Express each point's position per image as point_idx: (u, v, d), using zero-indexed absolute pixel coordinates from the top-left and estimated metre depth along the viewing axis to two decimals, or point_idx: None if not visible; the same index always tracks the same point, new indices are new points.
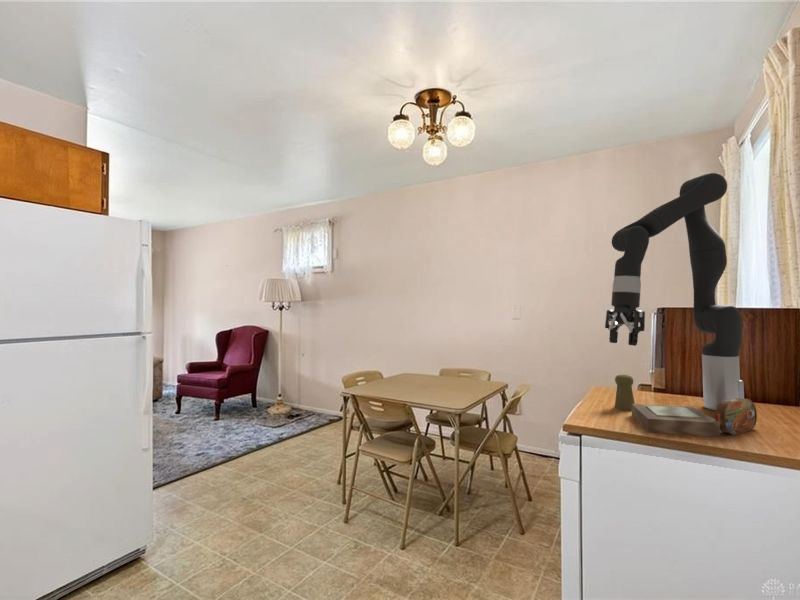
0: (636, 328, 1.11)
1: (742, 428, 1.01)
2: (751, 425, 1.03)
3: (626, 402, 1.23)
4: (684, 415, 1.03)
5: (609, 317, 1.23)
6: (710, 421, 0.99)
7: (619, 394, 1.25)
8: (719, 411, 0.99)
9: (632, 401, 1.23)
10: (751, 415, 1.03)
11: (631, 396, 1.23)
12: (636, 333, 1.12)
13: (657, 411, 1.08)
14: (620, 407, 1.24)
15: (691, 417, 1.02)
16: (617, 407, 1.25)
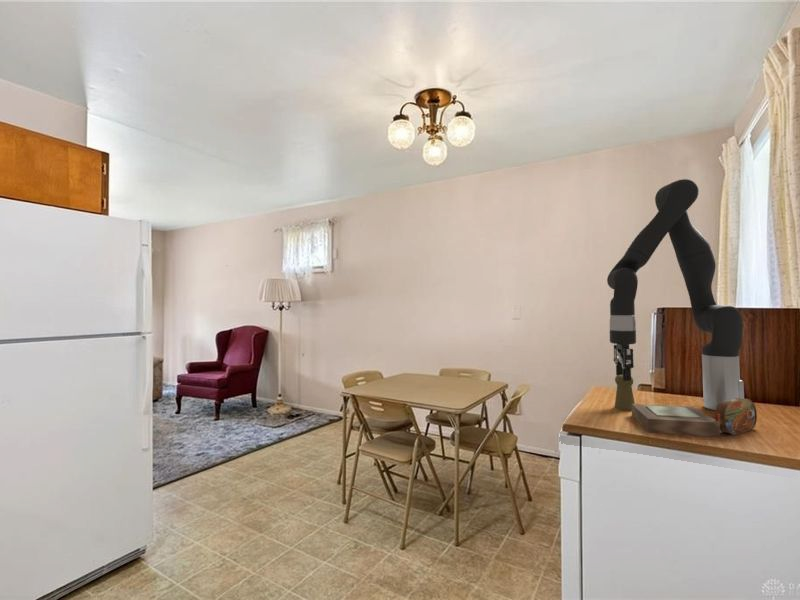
0: (624, 365, 1.19)
1: (742, 428, 1.01)
2: (751, 425, 1.03)
3: (626, 402, 1.23)
4: (684, 415, 1.03)
5: None
6: (710, 421, 0.99)
7: (619, 394, 1.25)
8: (719, 411, 0.99)
9: (632, 401, 1.23)
10: (751, 415, 1.03)
11: (631, 396, 1.23)
12: (628, 369, 1.20)
13: (657, 411, 1.08)
14: (620, 407, 1.24)
15: (691, 417, 1.02)
16: (617, 407, 1.25)
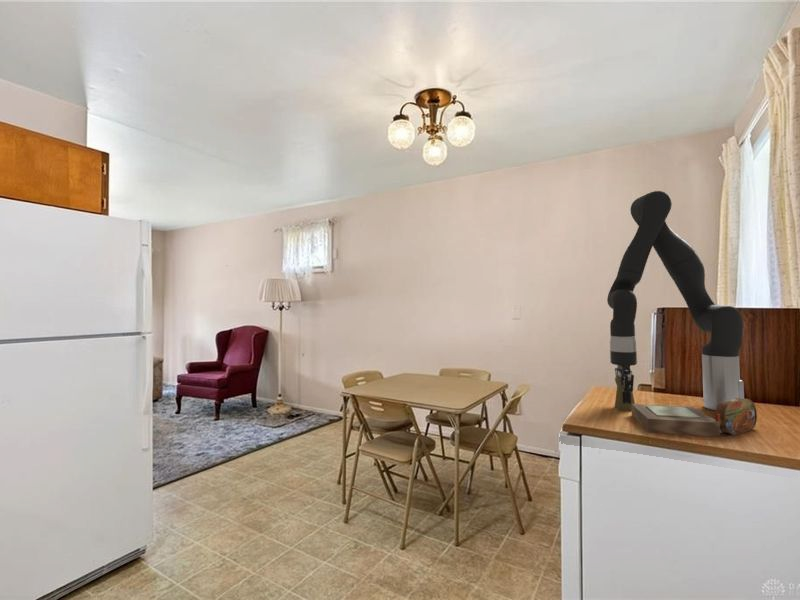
0: (624, 389, 1.21)
1: (742, 428, 1.01)
2: (751, 425, 1.03)
3: None
4: (684, 415, 1.03)
5: (617, 374, 1.30)
6: (710, 421, 0.99)
7: (619, 394, 1.25)
8: (719, 411, 0.99)
9: (632, 401, 1.23)
10: (751, 415, 1.03)
11: (631, 396, 1.23)
12: (627, 393, 1.22)
13: (657, 411, 1.08)
14: (620, 407, 1.24)
15: (691, 417, 1.02)
16: (617, 407, 1.25)
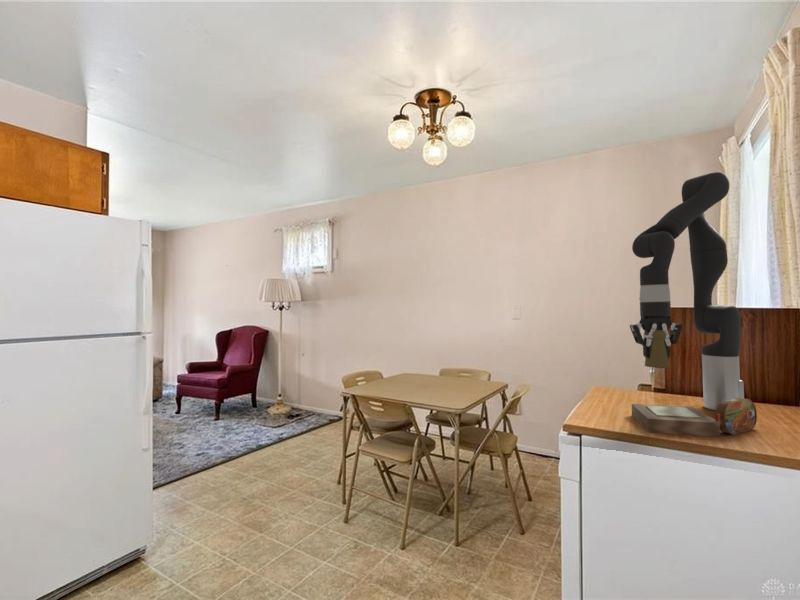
0: None
1: (742, 428, 1.01)
2: (751, 425, 1.03)
3: (646, 357, 1.13)
4: (684, 415, 1.03)
5: (672, 330, 1.13)
6: (710, 421, 0.99)
7: None
8: (719, 411, 0.99)
9: (652, 357, 1.11)
10: (751, 415, 1.03)
11: (652, 351, 1.11)
12: (644, 346, 1.12)
13: (657, 411, 1.08)
14: None
15: (691, 417, 1.02)
16: None
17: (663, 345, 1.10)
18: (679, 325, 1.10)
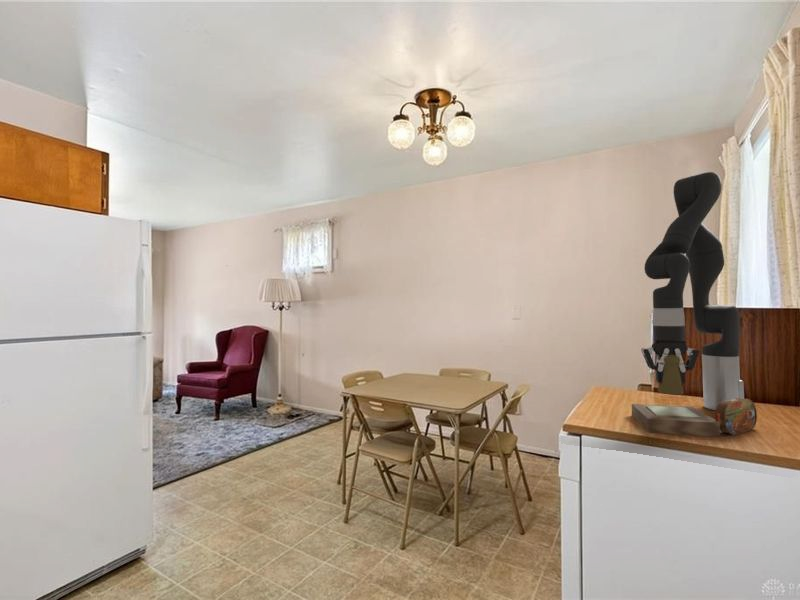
0: None
1: (742, 428, 1.01)
2: (751, 425, 1.03)
3: None
4: (684, 415, 1.03)
5: (688, 356, 1.07)
6: (710, 421, 0.99)
7: None
8: (719, 411, 0.99)
9: (664, 383, 1.07)
10: (751, 415, 1.03)
11: (664, 377, 1.07)
12: (656, 371, 1.09)
13: (657, 411, 1.08)
14: None
15: (691, 417, 1.02)
16: None
17: (676, 371, 1.06)
18: (695, 351, 1.05)
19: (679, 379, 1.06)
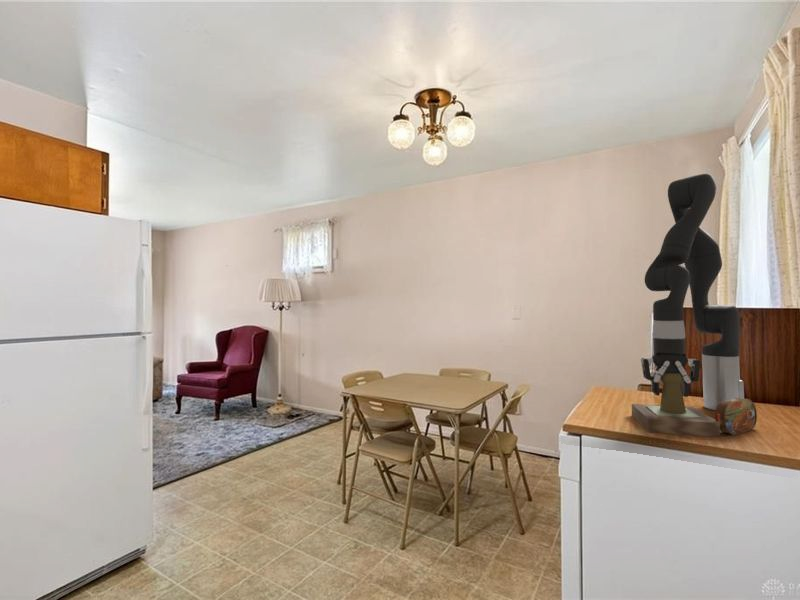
0: None
1: (742, 428, 1.01)
2: (751, 425, 1.03)
3: (661, 401, 1.09)
4: (684, 415, 1.03)
5: (691, 366, 1.07)
6: (710, 421, 0.99)
7: None
8: (719, 411, 0.99)
9: (666, 401, 1.07)
10: (751, 415, 1.03)
11: (666, 396, 1.07)
12: (652, 382, 1.09)
13: (657, 411, 1.08)
14: None
15: (691, 417, 1.02)
16: None
17: (678, 390, 1.06)
18: (696, 361, 1.05)
19: (681, 398, 1.06)
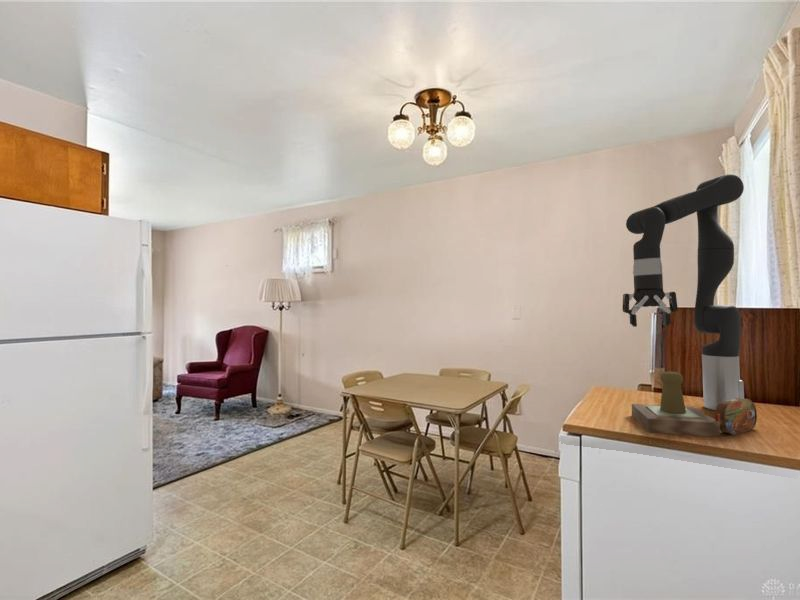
0: None
1: (742, 428, 1.01)
2: (751, 425, 1.03)
3: (661, 401, 1.09)
4: (684, 415, 1.03)
5: (669, 299, 1.17)
6: (710, 421, 0.99)
7: None
8: (719, 411, 0.99)
9: (666, 401, 1.07)
10: (751, 415, 1.03)
11: (666, 396, 1.07)
12: (630, 315, 1.19)
13: (657, 411, 1.08)
14: None
15: (691, 417, 1.02)
16: None
17: (678, 390, 1.06)
18: (672, 293, 1.15)
19: (681, 398, 1.06)
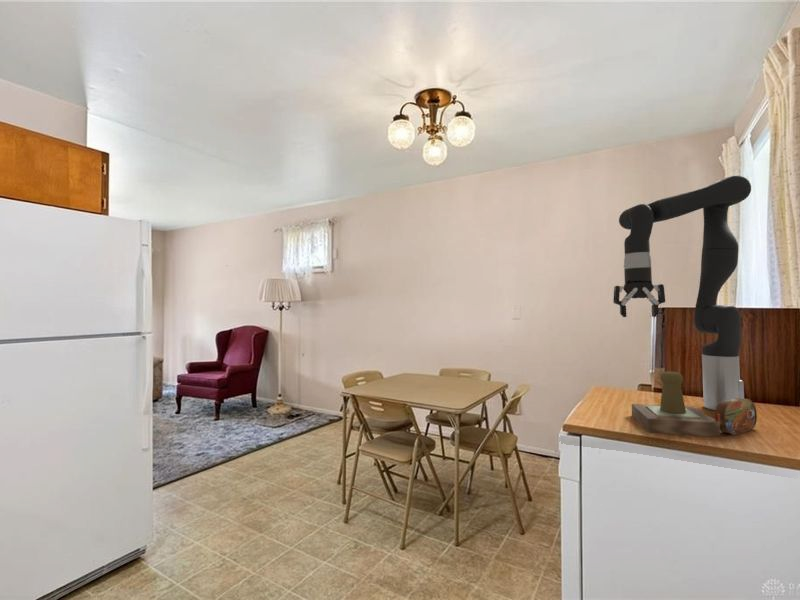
0: None
1: (742, 428, 1.01)
2: (751, 425, 1.03)
3: (661, 401, 1.09)
4: (684, 415, 1.03)
5: (657, 291, 1.24)
6: (710, 421, 0.99)
7: None
8: (719, 411, 0.99)
9: (666, 401, 1.07)
10: (751, 415, 1.03)
11: (666, 396, 1.07)
12: (620, 306, 1.26)
13: (657, 411, 1.08)
14: None
15: (691, 417, 1.02)
16: None
17: (678, 390, 1.06)
18: (660, 285, 1.22)
19: (681, 398, 1.06)
